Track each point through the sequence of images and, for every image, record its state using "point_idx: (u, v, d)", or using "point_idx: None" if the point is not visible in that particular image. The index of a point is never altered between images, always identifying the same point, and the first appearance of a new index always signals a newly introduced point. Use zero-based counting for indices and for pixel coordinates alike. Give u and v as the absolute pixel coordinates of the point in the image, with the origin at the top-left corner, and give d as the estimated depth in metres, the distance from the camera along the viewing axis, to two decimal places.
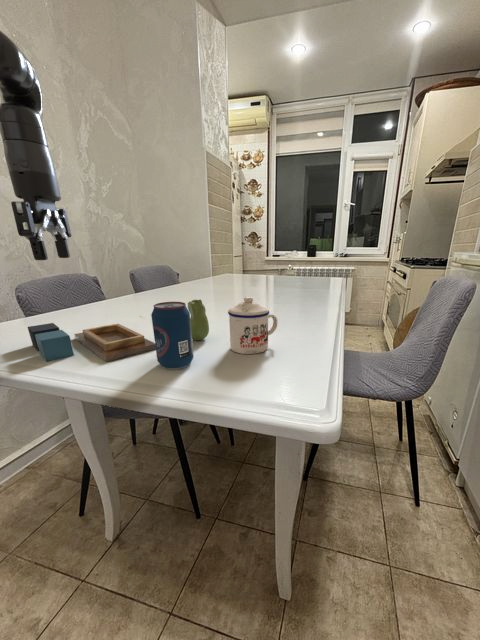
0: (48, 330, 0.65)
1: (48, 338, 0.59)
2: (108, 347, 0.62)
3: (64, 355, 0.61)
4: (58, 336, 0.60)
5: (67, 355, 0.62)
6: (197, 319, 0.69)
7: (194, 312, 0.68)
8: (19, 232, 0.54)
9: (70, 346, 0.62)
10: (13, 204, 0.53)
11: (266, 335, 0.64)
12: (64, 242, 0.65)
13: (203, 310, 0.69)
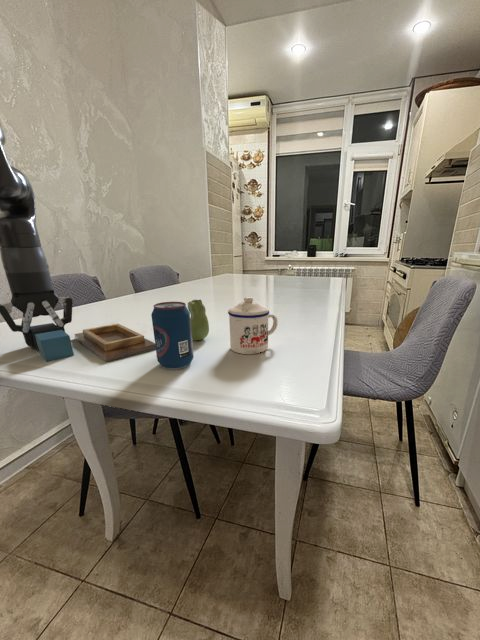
0: (48, 330, 0.65)
1: (48, 338, 0.59)
2: (108, 347, 0.62)
3: (64, 355, 0.61)
4: (58, 336, 0.60)
5: (67, 355, 0.62)
6: (197, 319, 0.69)
7: (194, 312, 0.68)
8: None
9: (70, 346, 0.62)
10: None
11: (266, 335, 0.64)
12: None
13: (203, 310, 0.69)
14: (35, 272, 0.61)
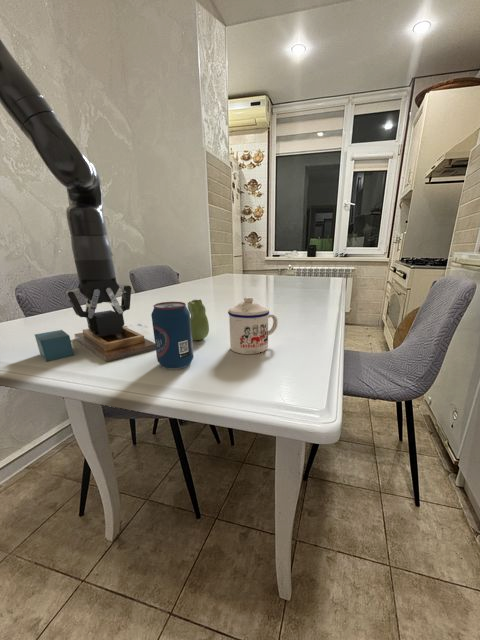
0: (111, 316, 0.68)
1: (48, 338, 0.59)
2: (108, 347, 0.62)
3: (64, 355, 0.61)
4: (58, 336, 0.60)
5: (67, 355, 0.62)
6: (197, 319, 0.69)
7: (194, 312, 0.68)
8: (76, 313, 0.66)
9: (70, 346, 0.62)
10: None
11: (266, 335, 0.64)
12: None
13: (203, 310, 0.69)
14: (103, 259, 0.63)
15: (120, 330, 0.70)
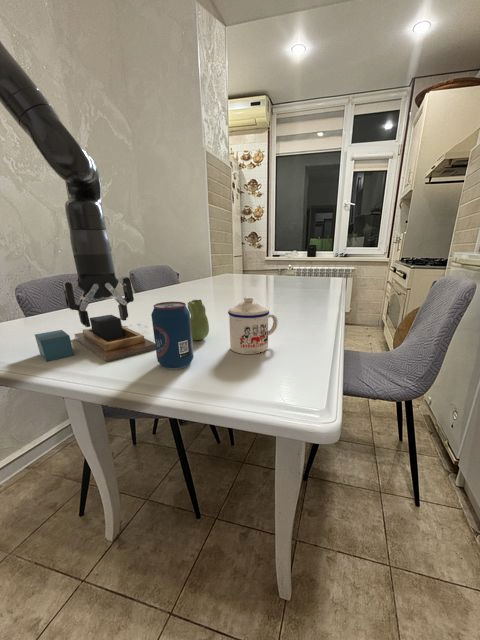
0: (111, 321, 0.68)
1: (48, 338, 0.59)
2: (108, 347, 0.62)
3: (64, 355, 0.61)
4: (58, 336, 0.60)
5: (67, 355, 0.62)
6: (197, 319, 0.69)
7: (194, 312, 0.68)
8: (67, 306, 0.64)
9: (70, 346, 0.62)
10: (62, 284, 0.63)
11: (266, 335, 0.64)
12: (121, 307, 0.71)
13: (203, 310, 0.69)
14: (102, 254, 0.63)
15: (120, 334, 0.70)
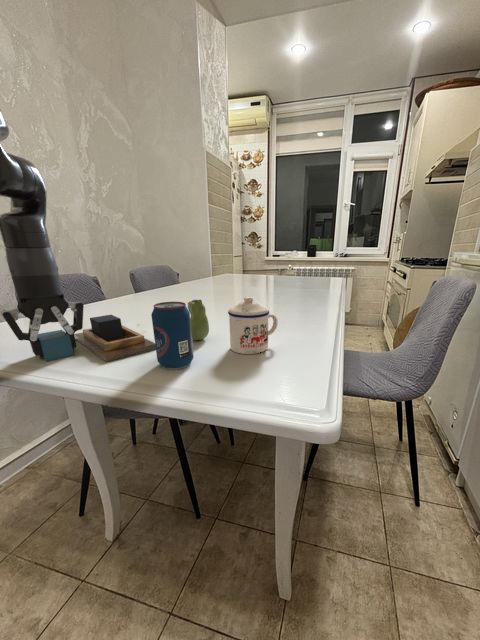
0: (111, 321, 0.68)
1: (48, 338, 0.59)
2: (108, 347, 0.62)
3: (64, 355, 0.61)
4: (58, 336, 0.60)
5: (67, 355, 0.62)
6: (197, 319, 0.69)
7: (194, 312, 0.68)
8: None
9: (70, 346, 0.62)
10: None
11: (266, 335, 0.64)
12: None
13: (203, 310, 0.69)
14: (44, 275, 0.55)
15: (120, 334, 0.70)
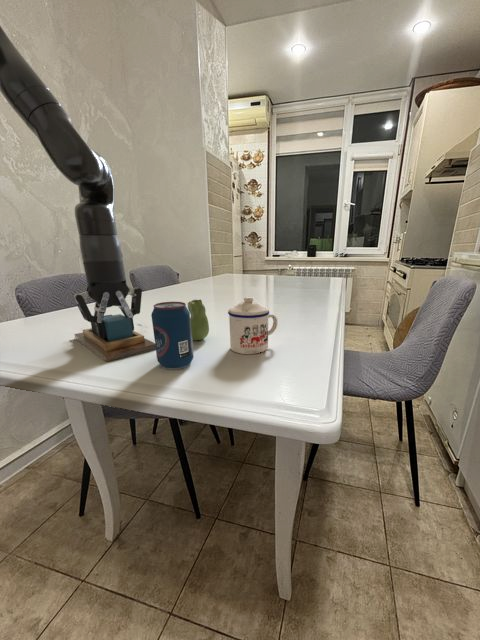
0: None
1: (113, 320, 0.63)
2: (108, 347, 0.62)
3: (125, 337, 0.65)
4: (121, 319, 0.64)
5: (128, 337, 0.66)
6: (197, 319, 0.69)
7: (194, 312, 0.68)
8: (84, 318, 0.62)
9: (131, 329, 0.66)
10: (73, 297, 0.60)
11: (266, 335, 0.64)
12: None
13: (203, 310, 0.69)
14: (113, 261, 0.59)
15: None
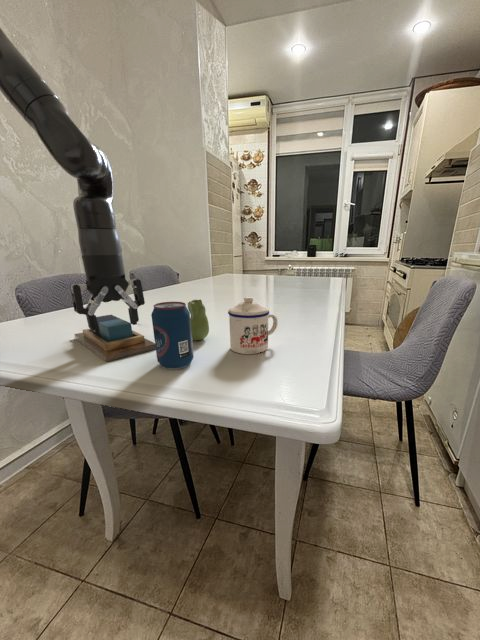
0: None
1: (113, 325, 0.64)
2: (108, 347, 0.62)
3: None
4: (121, 324, 0.65)
5: None
6: (197, 319, 0.69)
7: (194, 312, 0.68)
8: (74, 309, 0.60)
9: (131, 333, 0.66)
10: (70, 286, 0.59)
11: (266, 335, 0.64)
12: (132, 311, 0.67)
13: (203, 310, 0.69)
14: (112, 255, 0.59)
15: None
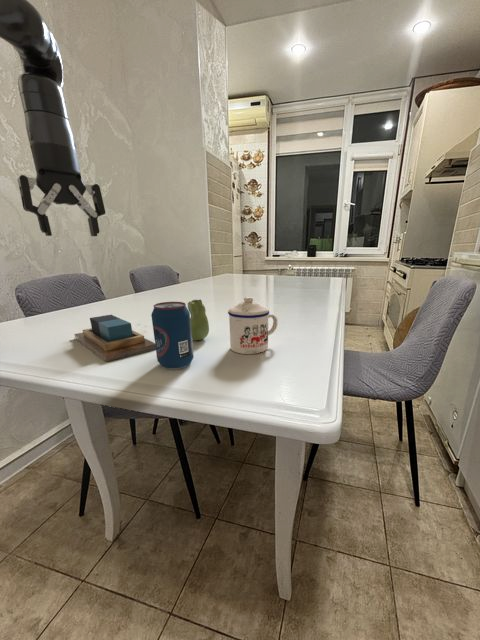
0: None
1: (113, 325, 0.64)
2: (108, 347, 0.62)
3: None
4: (121, 324, 0.65)
5: None
6: (197, 319, 0.69)
7: (194, 312, 0.68)
8: (23, 207, 0.56)
9: (131, 333, 0.66)
10: (18, 179, 0.55)
11: (266, 335, 0.64)
12: (91, 219, 0.63)
13: (203, 310, 0.69)
14: (63, 145, 0.55)
15: None
